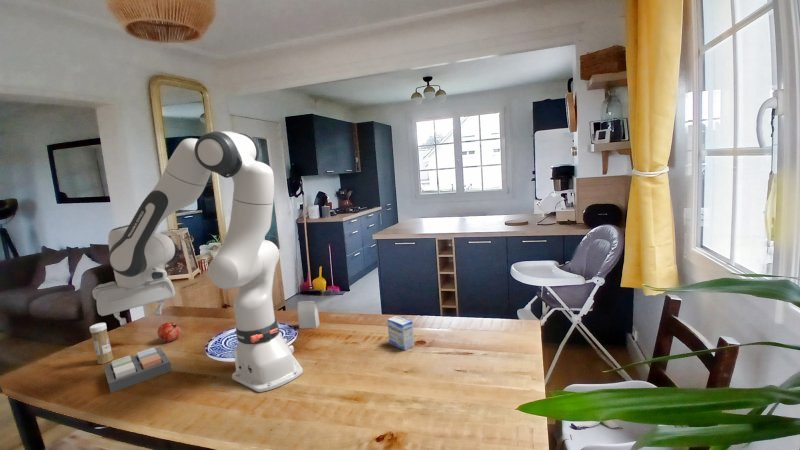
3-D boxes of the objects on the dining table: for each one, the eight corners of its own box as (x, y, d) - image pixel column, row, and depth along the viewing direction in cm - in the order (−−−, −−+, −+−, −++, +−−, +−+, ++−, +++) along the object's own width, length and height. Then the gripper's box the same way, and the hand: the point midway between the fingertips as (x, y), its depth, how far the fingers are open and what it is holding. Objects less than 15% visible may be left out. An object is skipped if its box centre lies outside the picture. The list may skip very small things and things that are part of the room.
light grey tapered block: (316, 328, 147) (313, 303, 146) (299, 328, 148) (296, 303, 146) (319, 324, 151) (316, 299, 149) (303, 324, 152) (299, 300, 150)
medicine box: (388, 343, 129) (386, 319, 127) (398, 339, 132) (396, 314, 130) (405, 351, 123) (402, 325, 122) (415, 345, 126) (412, 320, 124)
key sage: (133, 366, 125) (131, 359, 124) (114, 373, 122) (112, 366, 121) (131, 361, 128) (129, 355, 128) (112, 368, 125) (110, 361, 125)
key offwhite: (136, 374, 120) (135, 367, 119) (116, 381, 116) (115, 374, 116) (134, 369, 123) (132, 362, 123) (115, 375, 120) (113, 368, 120)
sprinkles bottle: (113, 361, 135) (105, 324, 133) (97, 366, 132) (88, 328, 130) (114, 356, 138) (106, 321, 136) (98, 361, 136) (89, 324, 134)
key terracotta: (162, 365, 124) (161, 358, 124) (144, 371, 121) (142, 364, 120) (159, 360, 128) (158, 353, 127) (141, 366, 125) (140, 359, 124)
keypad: (172, 370, 124) (170, 361, 124) (110, 393, 114) (108, 383, 113) (161, 355, 136) (160, 347, 136) (105, 374, 126) (103, 365, 125)
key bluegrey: (158, 358, 129) (156, 351, 129) (140, 364, 126) (139, 357, 126) (155, 353, 133) (153, 347, 133) (138, 359, 130) (136, 352, 129)
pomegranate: (157, 350, 145) (170, 336, 142) (148, 334, 147) (161, 320, 143) (175, 343, 152) (188, 330, 149) (167, 328, 154) (179, 314, 150)
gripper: (91, 288, 110) (101, 333, 113) (172, 270, 124) (179, 311, 126) (89, 284, 115) (99, 328, 117) (167, 267, 128) (175, 307, 131)
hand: (141, 319), depth 122 cm, fingers open, 8 cm apart
